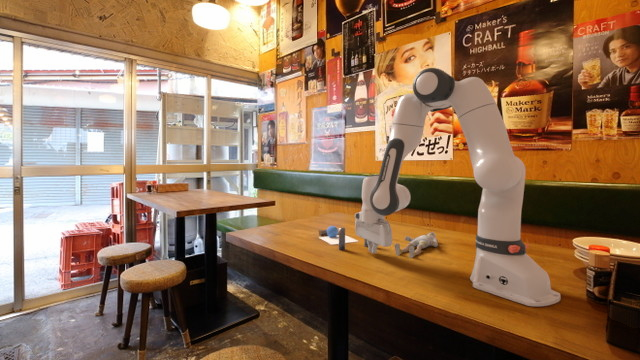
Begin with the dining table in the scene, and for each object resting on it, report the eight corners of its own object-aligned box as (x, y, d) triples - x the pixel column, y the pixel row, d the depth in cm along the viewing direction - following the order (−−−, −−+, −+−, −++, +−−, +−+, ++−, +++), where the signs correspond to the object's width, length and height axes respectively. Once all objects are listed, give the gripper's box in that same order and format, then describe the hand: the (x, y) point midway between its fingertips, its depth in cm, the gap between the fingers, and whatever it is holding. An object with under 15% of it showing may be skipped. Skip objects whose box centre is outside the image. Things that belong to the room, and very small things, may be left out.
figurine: (388, 241, 122) (419, 226, 145) (388, 256, 123) (419, 238, 145) (420, 248, 114) (448, 230, 136) (420, 264, 114) (448, 243, 137)
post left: (346, 250, 127) (346, 228, 126) (340, 250, 126) (340, 229, 125) (343, 248, 129) (343, 227, 129) (337, 249, 128) (337, 227, 128)
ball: (340, 235, 146) (338, 224, 148) (330, 237, 144) (328, 225, 145) (336, 237, 151) (334, 226, 152) (325, 238, 149) (324, 227, 150)
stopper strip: (336, 234, 155) (336, 229, 155) (320, 235, 151) (320, 231, 151) (334, 233, 157) (335, 228, 156) (318, 235, 153) (318, 230, 153)
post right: (371, 246, 132) (371, 225, 132) (366, 247, 131) (366, 226, 131) (368, 245, 135) (368, 224, 134) (363, 245, 134) (363, 225, 133)
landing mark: (359, 241, 140) (359, 241, 140) (331, 245, 135) (331, 244, 135) (344, 234, 153) (344, 234, 153) (318, 237, 147) (318, 237, 147)
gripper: (397, 220, 109) (396, 258, 110) (365, 212, 128) (365, 244, 129) (382, 222, 107) (381, 261, 108) (352, 213, 125) (352, 246, 126)
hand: (372, 252), depth 118 cm, fingers closed
